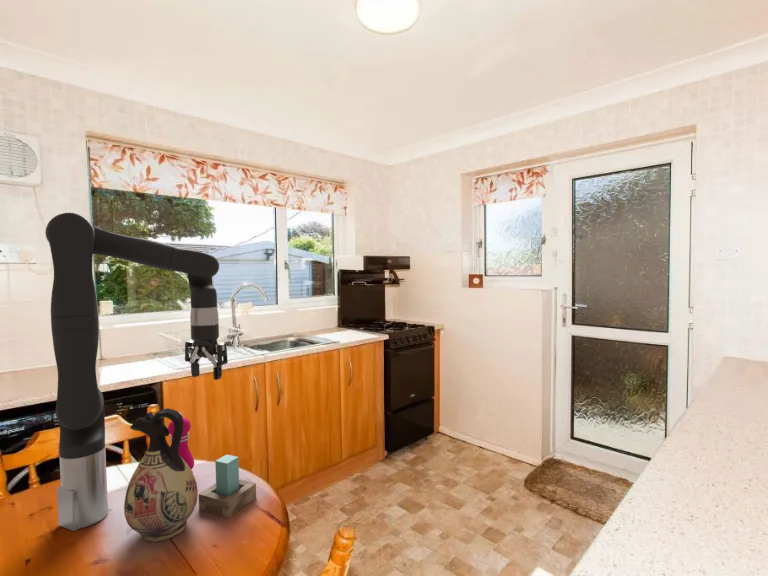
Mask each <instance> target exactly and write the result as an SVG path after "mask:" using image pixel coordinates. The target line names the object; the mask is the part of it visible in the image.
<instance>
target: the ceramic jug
mask: <svg viewBox="0 0 768 576" xmlns="http://www.w3.org/2000/svg"><path fill="white" fill-rule="evenodd" d="M180 413H181V412H179V411H177V410H175V409H172V408H162V409H160V410H158V411H156V412H155V414H153V412H152V411H149V412H148V413H147V414H146V415H144V417H142V416H141V417H138V418H136V420H134V422H133V423H132V424H131V426H130V427H129V429H130V430H133V431H135V432H141V433H142V434H144V435H146V436H148V438H149V442H148V448H147V449H146V452H145V453H144V455H143V457H142V458H141V460H139V462H138V464H137V467H136V468H135V470H134V472H133V473H132V475H131V477H130V480H129V483H128V485H127V488H126V492H125V496H124V504H123V512H124V513H123V514H124V518H125V521H126V523H127V525H128V526H129V528H131V530H133V531H135V532H136V533H138V534H139V535H141V536H142V538H143V540H144V541H148V542H151V543H153V542H155V543H156V542H157V543H158V542H161V541H164V540H168V539H171V538H172V537H175V536H176V535H179V534H181V533H182V532H183V531H184V530H185V529H186V527H187V523H188V519H189V518H190V517H191V516H192V514H193V512H194V511H195V508H196V505H197V503H198V497H199V493H198V489H199V488H198V484H197V481H196V477H195V475H194V472H193V473H192V471H193V470H192V471H191V469H190V467H189V466H188V464H187V463H186V462H185V461H184V460H183V459H182V457H181V456H180V455H179V452H178V449H179V445H180V441H181V438H182V433H183V423H184V421H183V418H184V417H183V415H182V416H181V414H182V413H181V414H180ZM164 418H165V419H169V420H170V422H171V421H173V424H174V433H173V438H172V442H171V444H170V445H169V444H168V441H167V438H166V437H168V436H170V433H169V430H168V426H166V424H165V423H164V422H163V419H164Z"/></svg>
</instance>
